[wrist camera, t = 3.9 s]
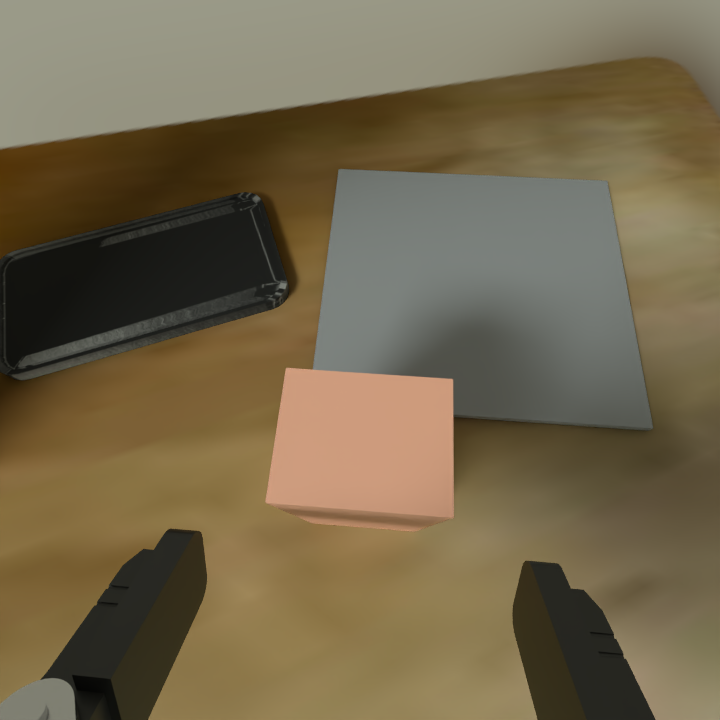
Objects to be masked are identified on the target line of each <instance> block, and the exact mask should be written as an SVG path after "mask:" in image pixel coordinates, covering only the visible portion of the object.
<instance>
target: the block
mask: <svg viewBox="0 0 720 720" xmlns="http://www.w3.org/2000/svg"><path fill="white" fill-rule="evenodd" d="M265 503H267V504H269V505H272V506H274V507H276V508H279V509H281V510H283V511H285V512H288V513H290V514H292V515H295V516H297V517H299V518H301V519H304V520H306V521H308V522H311V523H317V524H329V525H342V526H354V527H366V528H378V529H390V530H402V531H418V530H421V529H423V528H426V527H429V526H432V525H435V524H438V523H441V522H443V521H446V520H449V519H452V518H454V454H453V379H445V378H430V377H415V376H400V375H385V374H369V373H354V372H339V371H324V370H309V369H294V368H286V372H285V378H284V385H283V391H282V398H281V404H280V411H279V417H278V424H277V430H276V437H275V443H274V450H273V456H272V463H271V469H270V476H269V482H268V489H267V495H266V502H265Z"/></svg>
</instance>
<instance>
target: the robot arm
mask: <svg viewBox="0 0 720 720" xmlns="http://www.w3.org/2000/svg"><path fill="white" fill-rule="evenodd" d="M206 583H207V572H206V563H205V555H204V546H203V538H202V534H201V532H200V531H192V530H180V529H169V530H167V531H166V532H165V534H164V535H163V537H162V538H161V540H160V541H159V543H158V544H157V546H156V547H155V549H154V550H148V549H143V550H142V551H140V552H139V553H138V554H137V555H135V556H134V557H133V558H132V559H130V560H129V561H128V562H127V563H125V564H124V565H123V566H122V568H121V569H120V570H119V572H118V573H117V575H116V576H115V577H114V579H113V580H112V582H111V583H110V584H109V588H108V589H106V590H105V591H104V593H103V594H102V596H101V597H100V599H99V600H98V601H97V605H96V606H94V607H93V608H92V610H91V611H90V613H89V614H88V615H87V617H86V618H85V620H84V621H83V622H82V624H81V625H80V627H79V628H78V629H77V631H76V632H75V634H74V635H73V636H72V638H71V639H70V641H69V642H68V644H67V645H66V646H65V648H64V649H63V651H62V652H61V653H60V655H59V656H58V658H57V659H56V660H55V662H54V663H53V665H52V666H51V667H50V669H49V670H48V671H47V673H46V674H45V675H44V676H43V678H42V679H41V680H39V681H36V682H33V683H30V684H28V685H26V686H24V687H22V688H21V689H19V690H18V691H16V692H14V693H13V694H12V695H10V696H9V697H8V698H7V699H5V700H4V701H3V702H2V703H1V704H0V720H148V718H149V716H150V714H151V712H152V709H153V707H154V705H155V703H156V701H157V699H158V696H159V694H160V692H161V690H162V688H163V685H164V683H165V681H166V679H167V677H168V675H169V672H170V670H171V668H172V666H173V664H174V662H175V659H176V657H177V655H178V653H179V651H180V649H181V646H182V644H183V642H184V640H185V638H186V635H187V633H188V631H189V629H190V627H191V625H192V622H193V620H194V618H195V616H196V614H197V612H198V609H199V607H200V605H201V603H202V600H203V597H204V594H205V589H206ZM513 627H514V633H515V637H516V641H517V644H518V648H519V652H520V656H521V659H522V663H523V667H524V670H525V674H526V678H527V682H528V685H529V689H530V693H531V697H532V700H533V704H534V708H535V711H536V715H537V719H538V720H655V718H654V715H653V713H652V711H651V709H650V707H649V705H648V703H647V701H646V699H645V697H644V695H643V693H642V691H641V689H640V687H639V685H638V683H637V681H636V679H635V677H634V674H633V672H632V670H631V668H630V666H629V664H628V662H627V660H626V659H624V657H623V652H622V650H621V648H620V646H619V644H618V642H617V640H616V639H614V634H613V631H612V629H611V627H610V625H609V623H608V621H607V619H606V617H605V615H604V613H603V611H602V610H601V609H600V608H599V606H598V605H597V604H596V603H595V602H594V601H593V600H592V599H591V598H590V597H589V595H588V594H587V593H586V592H585V591H584V590H580V589H571V588H570V586H569V584H568V581H567V579H566V577H565V574H564V572H563V570H562V568H561V566H560V565H559V564H557V563H546V562H535V561H525V562H524V563H523V566H522V570H521V574H520V578H519V583H518V587H517V591H516V595H515V599H514V604H513Z"/></svg>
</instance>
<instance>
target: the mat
mask: <svg viewBox="0 0 720 720" xmlns="http://www.w3.org/2000/svg"><path fill="white" fill-rule="evenodd" d="M313 370H324V371H339V372H354V373H369V374H385V375H400V376H415V377H430V378H445V379H453V417H462V418H476V419H490V420H504V421H519V422H533V423H547V424H562V425H576V426H590V427H604V428H619V429H633V430H647V431H648V430H651V429H653V424H652V418H651V413H650V408H649V402H648V397H647V392H646V386H645V381H644V375H643V370H642V365H641V359H640V354H639V349H638V343H637V338H636V333H635V327H634V322H633V316H632V311H631V306H630V300H629V295H628V290H627V284H626V279H625V273H624V268H623V263H622V257H621V252H620V247H619V241H618V236H617V231H616V225H615V220H614V214H613V209H612V204H611V198H610V193H609V188H608V182H607V181H598V180H575V179H553V178H531V177H508V176H486V175H463V174H441V173H418V172H396V171H373V170H351V169H339V171H338V179H337V187H336V194H335V202H334V210H333V218H332V225H331V233H330V241H329V249H328V257H327V264H326V272H325V280H324V288H323V295H322V303H321V311H320V319H319V326H318V334H317V342H316V350H315V357H314V365H313Z"/></svg>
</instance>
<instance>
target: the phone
mask: <svg viewBox="0 0 720 720" xmlns="http://www.w3.org/2000/svg"><path fill="white" fill-rule="evenodd" d="M288 294H289V285H288V282H287V279H286V275H285V272H284V269H283V266H282V263H281V259H280V256H279V253H278V250H277V246H276V243H275V240H274V237H273V233H272V230H271V227H270V224H269V220H268V217H267V214H266V211H265V207H264V204H263V202H262V200H261V198H260V197H258V196H257V195H255V194H253V193H247V192H244V193H238V194H234V195H230V196H226V197H222V198H219V199H215V200H211V201H207V202H203V203H199V204H195V205H191V206H187V207H184V208H180V209H176V210H172V211H168V212H164V213H160V214H156V215H152V216H148V217H145V218H141V219H137V220H133V221H129V222H125V223H121V224H117V225H113V226H109V227H106V228H102V229H98V230H94V231H90V232H86V233H82V234H78V235H74V236H70V237H67V238H63V239H59V240H55V241H51V242H47V243H43V244H39V245H35V246H31V247H27V248H24V249H20V250H16V251H13V252H11V253H8V254H7V255H5V256H4V257H3V258H2V259H1V260H0V372H2V373H3V374H5V375H7V376H9V377H11V378H13V379H16V380H28V379H32V378H35V377H39V376H42V375H46V374H49V373H53V372H56V371H60V370H63V369H67V368H70V367H74V366H77V365H81V364H84V363H87V362H91V361H94V360H98V359H101V358H105V357H108V356H112V355H115V354H119V353H122V352H126V351H129V350H133V349H136V348H139V347H143V346H146V345H150V344H153V343H157V342H160V341H164V340H167V339H171V338H174V337H178V336H181V335H185V334H188V333H192V332H195V331H198V330H202V329H205V328H209V327H212V326H216V325H219V324H223V323H226V322H230V321H233V320H237V319H240V318H244V317H247V316H250V315H254V314H257V313H261V312H264V311H268V310H271V309H274V308H276V307H279V306H280V305H281V304H283V303H284V302H285V300H286V299H287V297H288Z"/></svg>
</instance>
